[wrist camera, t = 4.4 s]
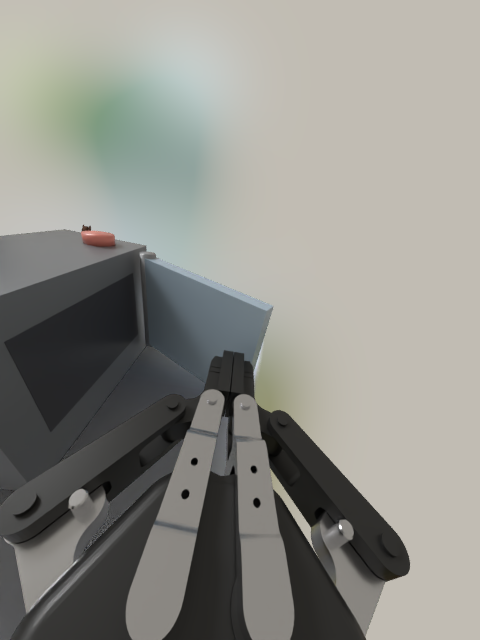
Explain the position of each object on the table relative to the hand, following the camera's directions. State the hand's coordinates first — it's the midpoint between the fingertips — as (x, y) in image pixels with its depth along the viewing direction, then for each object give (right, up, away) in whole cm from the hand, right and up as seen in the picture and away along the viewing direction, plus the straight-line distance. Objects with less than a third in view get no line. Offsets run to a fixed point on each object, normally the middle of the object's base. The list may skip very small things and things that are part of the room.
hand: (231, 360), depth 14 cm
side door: (-5, -2, +7) cm, 9 cm away
